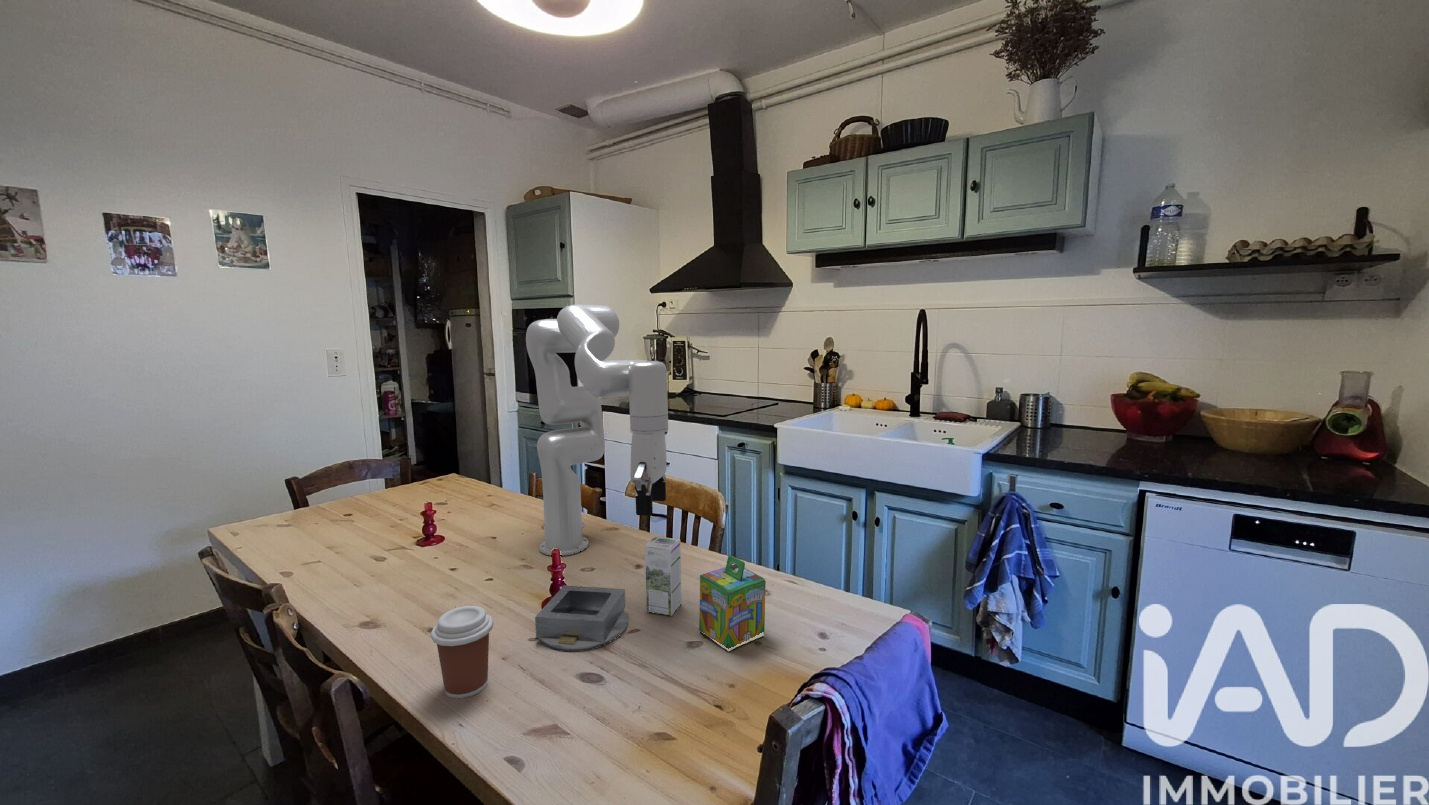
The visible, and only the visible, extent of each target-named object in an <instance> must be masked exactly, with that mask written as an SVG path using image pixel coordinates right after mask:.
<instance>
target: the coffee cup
mask: <svg viewBox="0 0 1429 805" xmlns="http://www.w3.org/2000/svg"><path fill="white" fill-rule="evenodd" d="M493 627H494V619H493V618H492V617H491V615H490V614H487V612H486V610H485V609H484V608H483V607H481V606H478V605H465V606H458V607H455V608H452V609H450V610H448V611H446V612H444V613H443V614H442V615H441V616H440V617H439V618H438V619H437V623H436V625H435V626H433V628H432V630H431V632H430V638H431V641H432V642H433V643H434V644H436V646H437V647H436V648H437V654H438V659H439V660H438V661H439V666H440V670H441V676H442V681H443V683H442V684H443V689H444V693H445V696H447V697H449V696H450V697H449V698H450V699H458V698H460V699H464V698H463V697H466V698H469V697H468V696H470V697H471V696H474V695H473V694H475V695H477V694H479V693H480V692H482V691H483V690H484V689H485V688H486V687H485V686H488V683H489V647H490V646H489V644H490V643H489V642H490V632H491V631H492V630H493ZM487 682H488V683H487ZM484 687H485V688H484ZM481 690H482V691H481ZM476 693H477V694H476Z"/></svg>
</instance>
